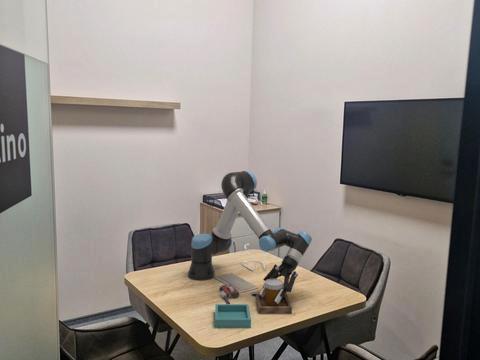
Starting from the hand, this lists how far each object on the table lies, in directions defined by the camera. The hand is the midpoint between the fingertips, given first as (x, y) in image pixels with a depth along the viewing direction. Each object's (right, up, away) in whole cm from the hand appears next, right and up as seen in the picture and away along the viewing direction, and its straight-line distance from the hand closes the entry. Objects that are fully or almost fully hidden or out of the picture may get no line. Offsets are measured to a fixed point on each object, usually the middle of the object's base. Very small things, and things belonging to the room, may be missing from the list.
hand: (268, 298), depth 195 cm
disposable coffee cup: (+2, -4, +3) cm, 6 cm away
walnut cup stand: (+2, -4, +3) cm, 6 cm away
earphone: (-5, +3, +59) cm, 59 cm away
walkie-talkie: (-19, -3, +14) cm, 24 cm away
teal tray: (-17, -6, -11) cm, 21 cm away
